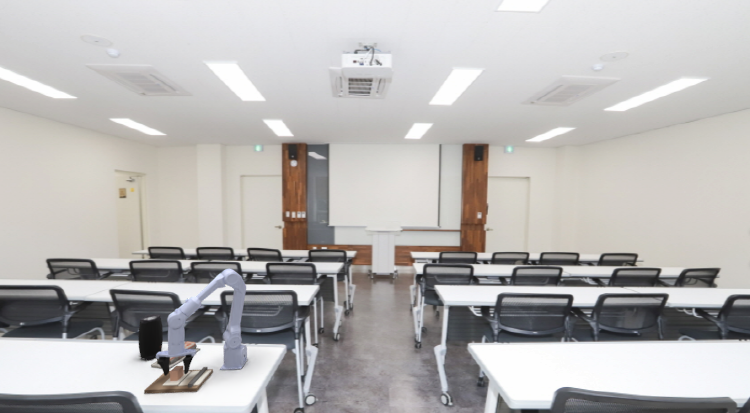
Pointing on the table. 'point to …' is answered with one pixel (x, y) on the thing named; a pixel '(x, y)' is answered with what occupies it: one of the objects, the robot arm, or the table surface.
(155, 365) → the packaged product
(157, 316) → the portable speaker
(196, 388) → the board
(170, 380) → the stub
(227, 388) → the table surface
